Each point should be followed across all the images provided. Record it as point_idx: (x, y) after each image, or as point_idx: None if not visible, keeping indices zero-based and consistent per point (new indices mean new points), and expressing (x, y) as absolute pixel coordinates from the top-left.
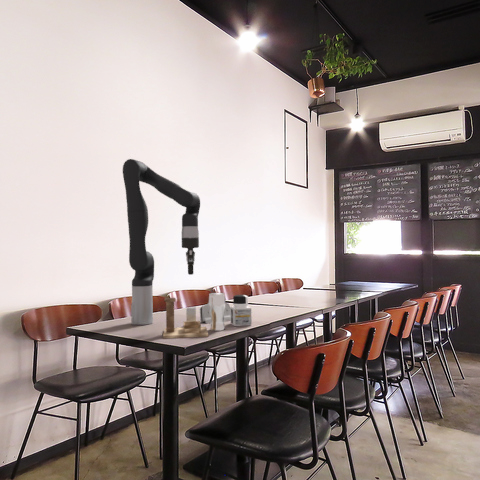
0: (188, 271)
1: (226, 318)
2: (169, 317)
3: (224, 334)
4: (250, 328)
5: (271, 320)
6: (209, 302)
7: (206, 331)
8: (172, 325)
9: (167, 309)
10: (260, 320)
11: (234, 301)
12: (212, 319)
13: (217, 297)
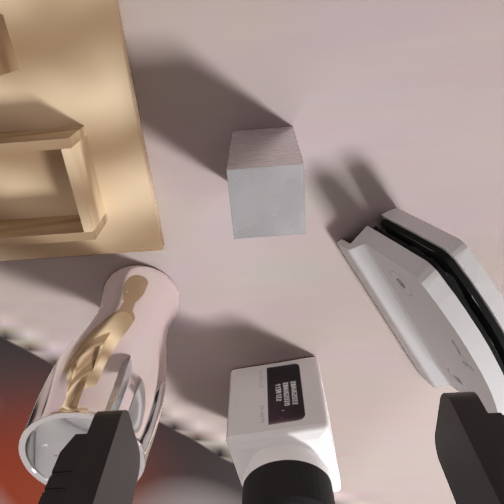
0: (84, 450)
1: (407, 348)
2: None
3: (22, 323)
4: (170, 419)
5: (358, 496)
6: (66, 366)
7: (14, 255)
8: None
9: None
10: (371, 464)
11: (265, 475)
12: (99, 309)
13: (30, 439)
